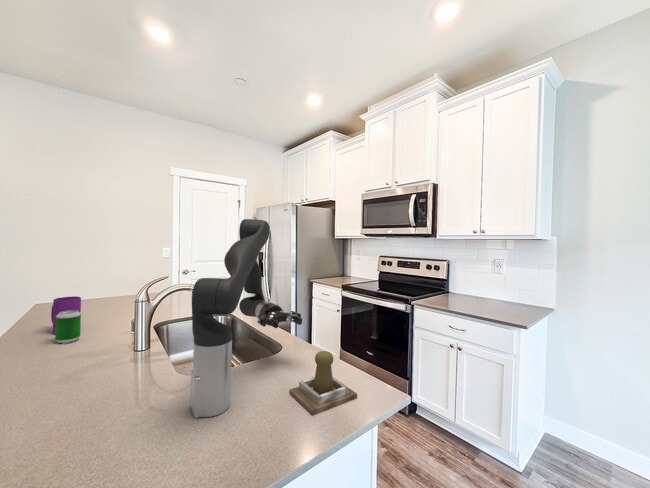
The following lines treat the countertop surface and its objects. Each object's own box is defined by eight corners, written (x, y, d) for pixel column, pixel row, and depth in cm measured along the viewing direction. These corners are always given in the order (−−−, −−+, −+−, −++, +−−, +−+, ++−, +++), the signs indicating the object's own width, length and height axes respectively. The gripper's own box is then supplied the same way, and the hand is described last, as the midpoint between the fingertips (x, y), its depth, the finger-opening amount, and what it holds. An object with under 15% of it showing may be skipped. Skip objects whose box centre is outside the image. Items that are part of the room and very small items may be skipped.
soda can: (83, 340, 117) (83, 311, 117) (58, 346, 111) (59, 315, 111) (76, 336, 121) (77, 308, 121) (52, 341, 115) (53, 312, 115)
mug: (59, 336, 121) (60, 301, 121) (39, 331, 127) (40, 297, 127) (84, 330, 130) (85, 297, 130) (64, 325, 135) (65, 294, 135)
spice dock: (312, 415, 71) (312, 402, 71) (289, 393, 81) (289, 382, 81) (357, 397, 80) (357, 386, 80) (331, 380, 90) (331, 370, 90)
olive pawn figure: (331, 398, 77) (332, 358, 77) (310, 395, 78) (311, 355, 78) (335, 387, 83) (336, 349, 83) (315, 384, 84) (316, 347, 84)
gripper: (250, 304, 101) (269, 314, 88) (286, 301, 110) (308, 309, 96) (249, 325, 101) (268, 338, 88) (285, 320, 109) (307, 331, 96)
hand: (289, 323), depth 92 cm, fingers open, 8 cm apart
